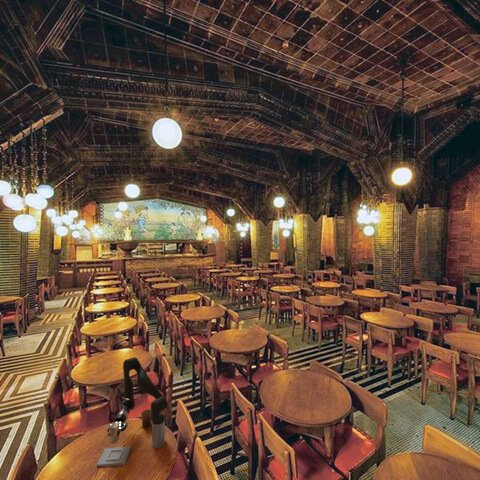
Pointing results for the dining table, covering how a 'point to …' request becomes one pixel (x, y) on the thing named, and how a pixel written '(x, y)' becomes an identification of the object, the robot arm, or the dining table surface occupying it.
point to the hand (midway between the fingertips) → (113, 434)
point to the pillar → (113, 433)
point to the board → (114, 456)
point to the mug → (146, 418)
